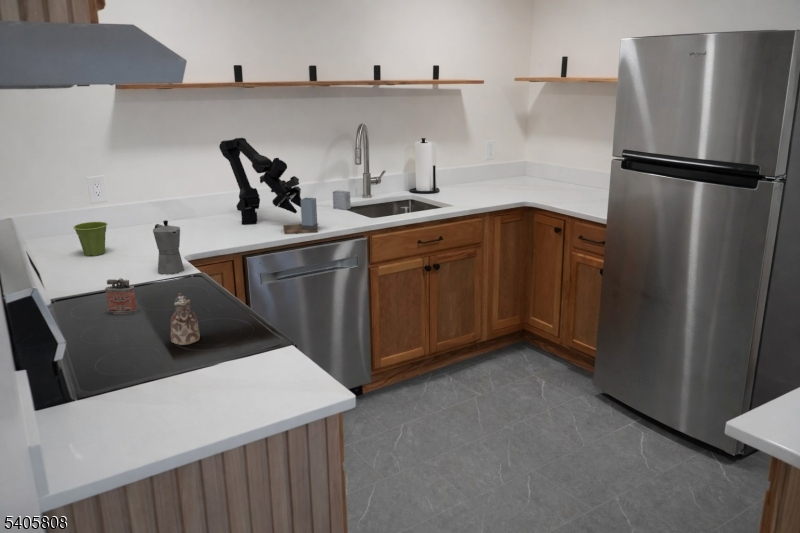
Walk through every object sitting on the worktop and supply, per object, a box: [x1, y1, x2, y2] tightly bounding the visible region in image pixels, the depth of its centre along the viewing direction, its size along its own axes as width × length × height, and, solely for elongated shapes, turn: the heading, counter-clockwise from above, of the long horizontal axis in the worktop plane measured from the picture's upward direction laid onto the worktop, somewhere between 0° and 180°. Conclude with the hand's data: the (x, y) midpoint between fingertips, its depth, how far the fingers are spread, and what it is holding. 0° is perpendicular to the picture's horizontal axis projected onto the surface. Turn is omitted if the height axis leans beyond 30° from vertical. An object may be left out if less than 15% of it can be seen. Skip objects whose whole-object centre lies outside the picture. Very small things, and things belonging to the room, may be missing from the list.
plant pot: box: [72, 221, 108, 257], centre depth 249 cm, size 12×12×11 cm
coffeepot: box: [152, 219, 185, 275], centre depth 227 cm, size 15×9×18 cm, turn 44°
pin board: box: [282, 223, 319, 235], centre depth 284 cm, size 14×13×5 cm
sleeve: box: [300, 197, 319, 230], centre depth 281 cm, size 5×5×13 cm
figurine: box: [170, 292, 201, 346], centre depth 169 cm, size 7×7×12 cm
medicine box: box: [332, 189, 352, 211], centre depth 327 cm, size 8×4×9 cm, turn 58°
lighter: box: [104, 277, 138, 315], centre depth 189 cm, size 8×3×10 cm, turn 92°
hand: (300, 210), depth 282 cm, fingers open, 9 cm apart
